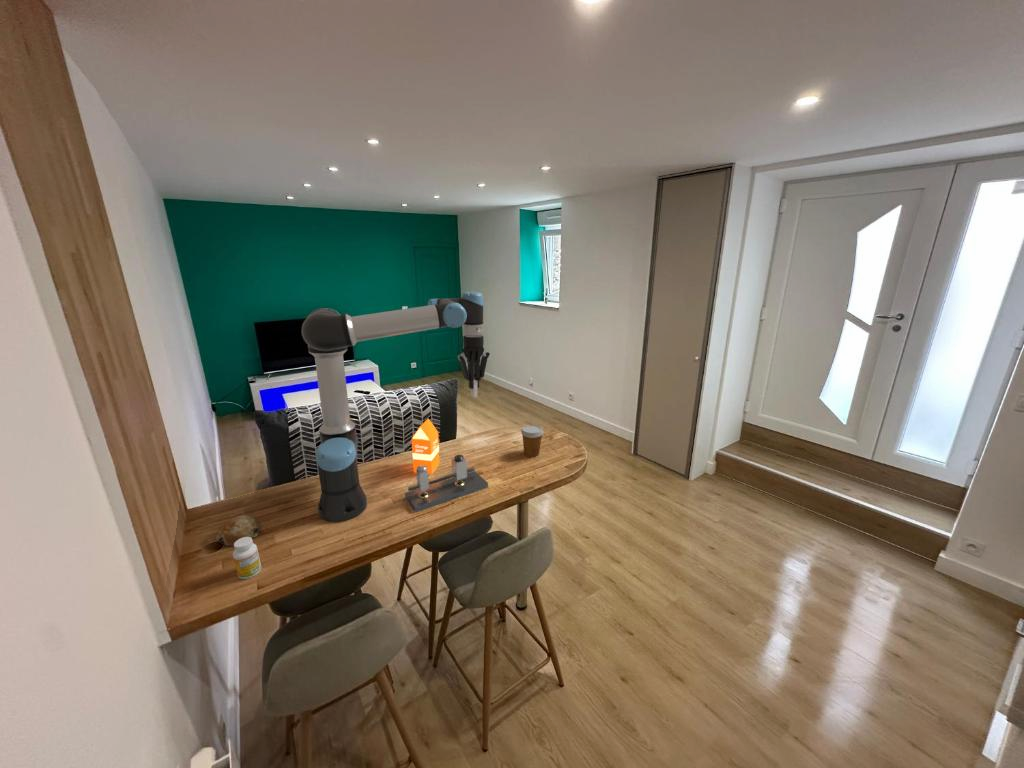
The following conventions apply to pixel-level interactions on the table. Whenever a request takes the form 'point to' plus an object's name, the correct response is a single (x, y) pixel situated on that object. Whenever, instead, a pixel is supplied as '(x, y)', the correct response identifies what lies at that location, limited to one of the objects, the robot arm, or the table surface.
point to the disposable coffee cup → (532, 440)
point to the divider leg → (459, 467)
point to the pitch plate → (441, 488)
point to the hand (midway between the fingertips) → (474, 396)
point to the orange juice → (426, 447)
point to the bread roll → (237, 529)
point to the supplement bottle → (246, 558)
